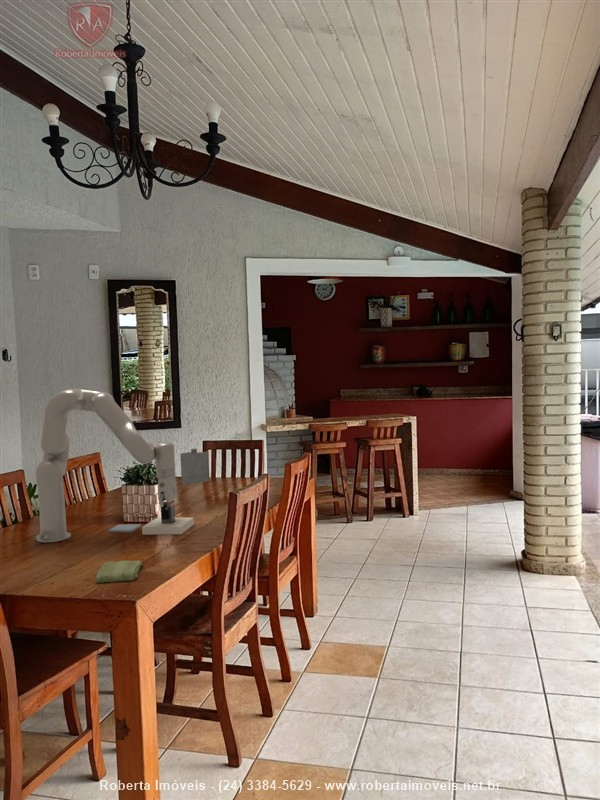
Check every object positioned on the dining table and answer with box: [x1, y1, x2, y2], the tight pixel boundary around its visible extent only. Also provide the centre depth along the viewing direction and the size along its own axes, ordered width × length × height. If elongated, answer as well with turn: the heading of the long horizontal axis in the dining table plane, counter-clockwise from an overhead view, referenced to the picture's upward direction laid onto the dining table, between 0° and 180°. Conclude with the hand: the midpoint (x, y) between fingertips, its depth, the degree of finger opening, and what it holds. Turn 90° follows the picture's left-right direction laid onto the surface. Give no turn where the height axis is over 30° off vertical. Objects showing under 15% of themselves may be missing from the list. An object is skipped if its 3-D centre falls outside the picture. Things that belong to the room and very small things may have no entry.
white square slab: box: [141, 517, 195, 536], centre depth 268 cm, size 16×16×3 cm
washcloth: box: [95, 560, 144, 584], centre depth 210 cm, size 13×18×3 cm
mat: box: [107, 523, 142, 533], centre depth 272 cm, size 10×10×1 cm
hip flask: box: [180, 448, 211, 485], centre depth 380 cm, size 16×4×20 cm, turn 92°
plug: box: [161, 500, 176, 524], centre depth 268 cm, size 4×4×11 cm
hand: (168, 517), depth 268 cm, fingers open, 5 cm apart
